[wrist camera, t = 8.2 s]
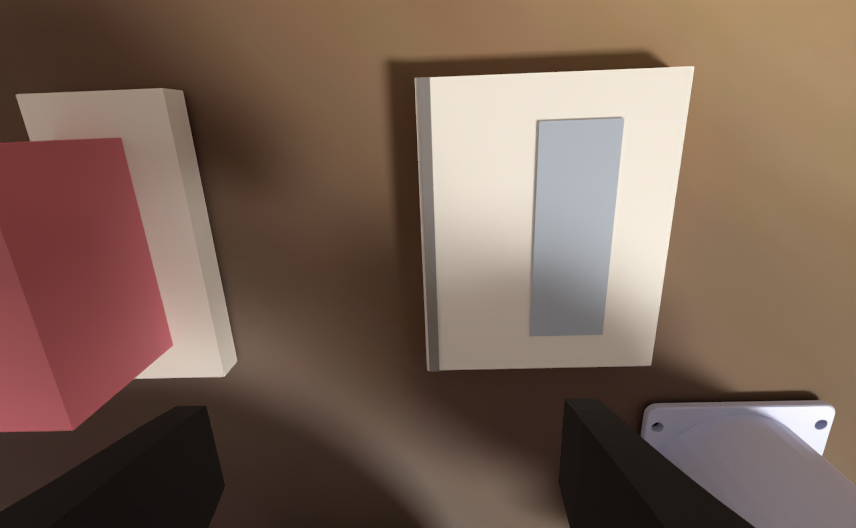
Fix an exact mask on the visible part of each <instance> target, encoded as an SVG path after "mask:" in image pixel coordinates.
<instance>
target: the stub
mask: <svg viewBox="0 0 856 528" xmlns="http://www.w3.org/2000/svg"><path fill="white" fill-rule="evenodd" d="M15 95H16V98H17V101H18V104H19V107H20V110H21V114H22V117H23V120H24V123H25V126H26V129H27V133H28V136H29V139H30V141H25V142H6V143H0V432H27V431H73V430H75V429H76V428H77V427H78V426H79V425H80V424H82V423H83V422H84V421H85V420H86V419H87V418H89V417H90V416H91V415H92V414H93V413H94V412H96V411H97V410H98V409H99V408H100V407H102V406H103V405H104V404H105V403H106V402H107V401H109V400H110V399H111V398H112V397H113V396H114V395H116V394H117V393H118V392H119V391H120V390H121V389H123V388H124V387H125V386H126V385H127V384H129V383H130V382H131V381H132V380H133V379H146V378H193V377H225V376H226V374H227V373H228V372H229V371H230V370H231V368H232V367H233V366H234V365H235V364H236V362H237V357H236V352H235V347H234V342H233V337H232V332H231V327H230V322H229V317H228V312H227V307H226V302H225V297H224V292H223V287H222V282H221V278H220V273H219V268H218V263H217V258H216V253H215V248H214V243H213V238H212V233H211V228H210V223H209V218H208V213H207V208H206V203H205V198H204V193H203V188H202V183H201V178H200V173H199V168H198V163H197V158H196V153H195V148H194V143H193V138H192V133H191V128H190V123H189V119H188V114H187V109H186V104H185V99H184V94H183V90H174V89H166V88H153V89H129V90H105V91H81V92H57V93H33V94H15Z"/></svg>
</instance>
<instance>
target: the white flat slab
mask: <svg viewBox="0 0 856 528" xmlns="http://www.w3.org/2000/svg"><path fill="white" fill-rule="evenodd" d="M693 73H694V66H689V67H665V68H641V69H617V70H593V71H570V72H546V73H522V74H498V75H474V76H450V77H419V78H415V100H416V123H417V146H418V169H419V193H420V216H421V239H422V263H423V286H424V309H425V332H426V356H427V371H428V370H429V371H430V372H439V370H475V369H522V368H569V367H616V366H651V363H652V356H653V349H654V342H655V335H656V328H657V321H658V315H659V308H660V301H661V294H662V287H663V280H664V273H665V266H666V259H667V252H668V246H669V239H670V232H671V225H672V218H673V211H674V204H675V197H676V190H677V183H678V177H679V170H680V163H681V156H682V149H683V142H684V135H685V128H686V121H687V115H688V108H689V101H690V94H691V87H692V80H693Z"/></svg>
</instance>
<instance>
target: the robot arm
mask: <svg viewBox="0 0 856 528" xmlns="http://www.w3.org/2000/svg"><path fill="white" fill-rule="evenodd" d="M834 415H835V409H834V407H833V406H831V405H830V404H828V403H827V402H825V401H822V400H803V401H750V402H696V403H655V404H651V405H649V406H648V407H647V408H646V409H645V411H644V415H643V422H642V429H641V436H640V435H638V434H637V433H636V432H635V431H634V430H633V429H631V428H630V427H629V426H628V425H627V424H626V423H625V422H623V421H622V420H621V419H620V418H619V417H618V416H616V415H615V414H614V413H613V412H612V411H611V410H609V409H608V408H607V407H606V406H605V405H604V404H602V403H601V402H600V401H599V400H597V399H565V404H564V418H563V431H562V445H561V458H560V472H559V484H560V489H561V493H562V497H563V501H564V505H565V509H566V513H567V517H568V521H569V525H570V528H856V485H855V484H853V483H852V482H851V481H850V480H849V479H848V478H847V477H845V476H844V475H843V474H842V473H841V472H840V471H839V470H837V469H836V468H835V467H834V466H833V465H832V464H830V463H829V462H828V461H827V460H826V459H825V458H824V457H822V454H823V451H824V448H825V444H826V441H827V438H828V435H829V431H830V428H831V425H832V422H833V419H834ZM658 422H659V423H658ZM655 423H658V424H657V425H656V426H652V425H653V424H655ZM224 487H225V484H224V479H223V475H222V471H221V467H220V463H219V458H218V454H217V450H216V446H215V441H214V437H213V433H212V429H211V425H210V420H209V416H208V412H207V408H206V406H178V407H175V408H173V409H171V410H169V411H167V412H165V413H164V414H162V415H160V416H158V417H156V418H155V419H153V420H151V421H150V422H148V423H146V424H145V425H143V426H141V427H140V428H138V429H136V430H135V431H133V432H131V433H130V434H128V435H127V436H125V437H123V438H122V439H120V440H118V441H117V442H115V443H114V444H112V445H110V446H109V447H107V448H106V449H104V450H102V451H101V452H99V453H98V454H96V455H94V456H93V457H91V458H89V459H88V460H86V461H85V462H83V463H81V464H80V465H78V466H76V467H75V468H73V469H72V470H70V471H68V472H67V473H65V474H64V475H62V476H60V477H59V478H57V479H55V480H54V481H52V482H50V483H49V484H47V485H45V486H44V487H42V488H40V489H39V490H37V491H35V492H34V493H32V494H30V495H28V496H27V497H25V498H23V499H22V500H20V501H18V502H16V503H15V504H13V505H11V506H10V507H8V508H6V509H5V510H3V511H1V512H0V528H208V527H209V524H210V522H211V520H212V517H213V515H214V513H215V510H216V507H217V505H218V502H219V500H220V497H221V495H222V492H223V490H224Z"/></svg>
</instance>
